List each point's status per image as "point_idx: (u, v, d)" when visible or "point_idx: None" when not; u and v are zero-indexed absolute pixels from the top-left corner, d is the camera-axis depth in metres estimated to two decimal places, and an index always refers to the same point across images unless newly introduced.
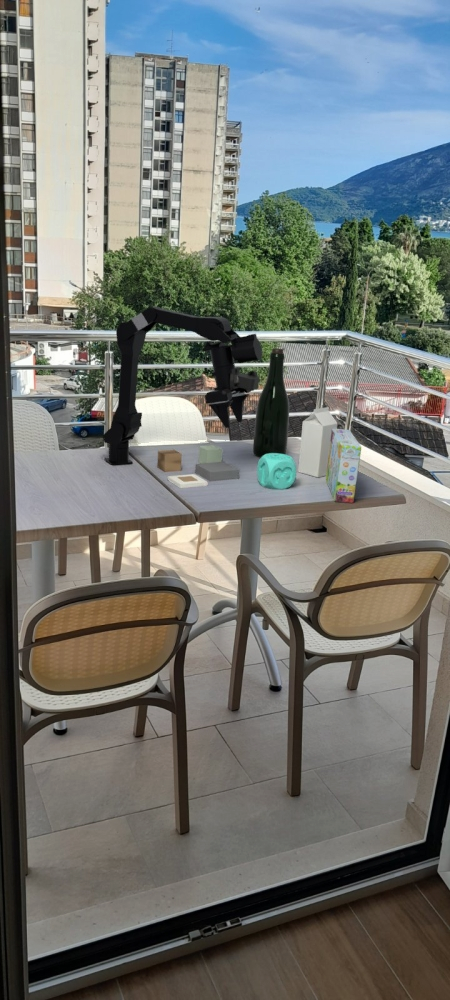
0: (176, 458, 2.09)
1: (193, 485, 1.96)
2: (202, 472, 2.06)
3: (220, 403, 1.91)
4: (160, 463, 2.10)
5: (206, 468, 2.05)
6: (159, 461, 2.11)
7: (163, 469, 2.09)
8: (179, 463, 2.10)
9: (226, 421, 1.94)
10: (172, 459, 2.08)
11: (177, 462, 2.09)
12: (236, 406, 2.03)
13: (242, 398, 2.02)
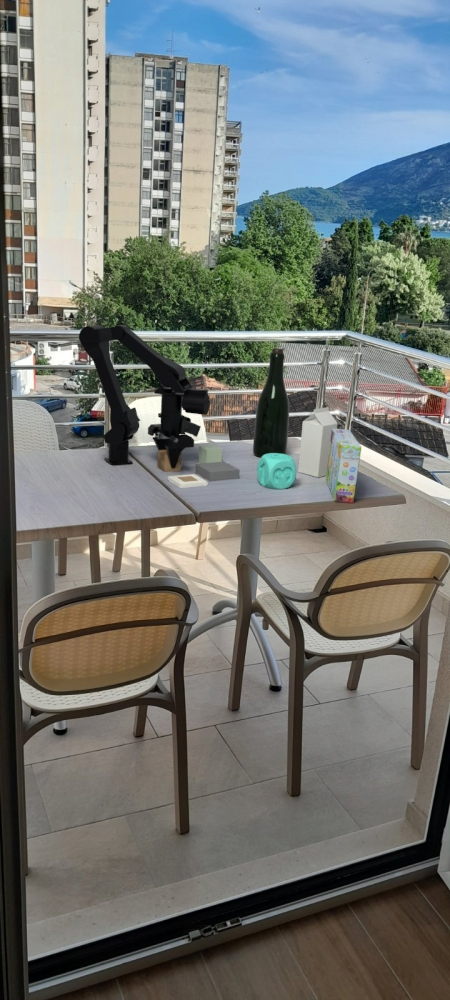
0: None
1: (193, 485, 1.96)
2: (202, 472, 2.06)
3: None
4: (160, 463, 2.10)
5: (206, 468, 2.05)
6: (159, 461, 2.11)
7: (163, 469, 2.09)
8: (179, 463, 2.10)
9: (175, 462, 2.08)
10: None
11: (177, 462, 2.09)
12: (164, 448, 2.12)
13: None
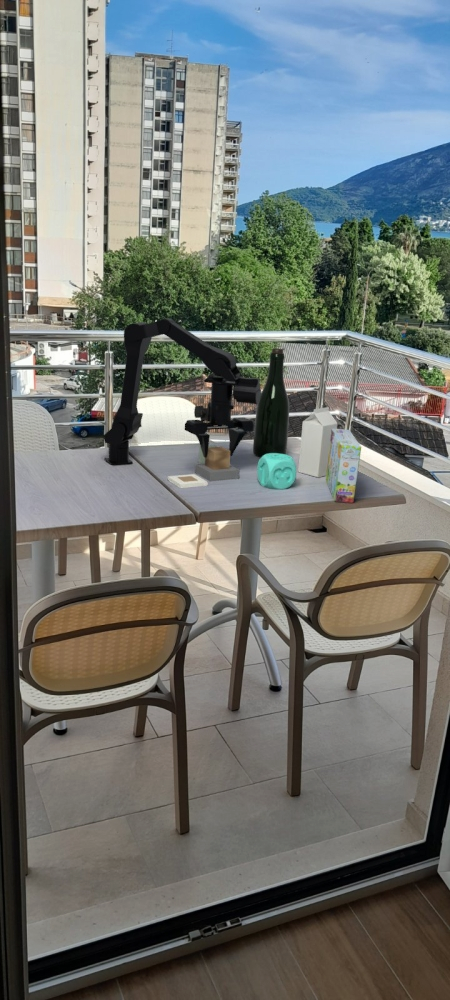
0: None
1: (193, 485, 1.96)
2: (202, 473, 2.06)
3: None
4: (220, 462, 2.05)
5: (206, 468, 2.05)
6: (217, 461, 2.04)
7: (226, 466, 2.06)
8: None
9: None
10: None
11: None
12: None
13: None
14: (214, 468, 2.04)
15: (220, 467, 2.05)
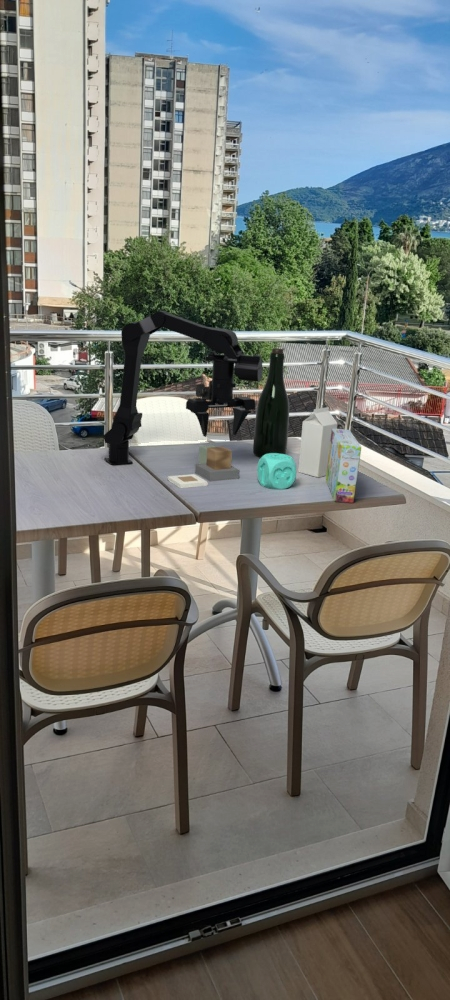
0: None
1: (193, 485, 1.96)
2: (202, 473, 2.06)
3: None
4: (221, 462, 2.05)
5: (206, 468, 2.05)
6: (219, 461, 2.04)
7: (228, 466, 2.06)
8: None
9: None
10: None
11: None
12: None
13: None
14: (215, 468, 2.04)
15: (221, 467, 2.05)
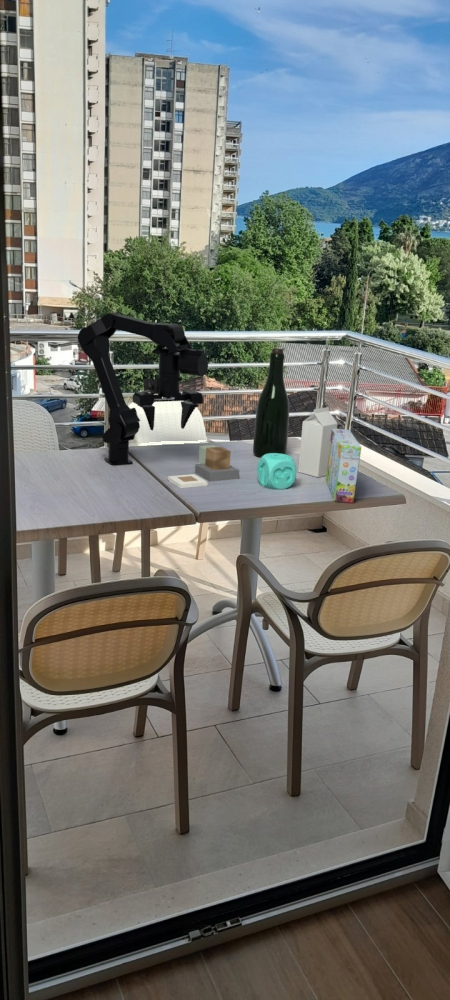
0: None
1: (193, 485, 1.96)
2: (201, 473, 2.06)
3: None
4: (220, 462, 2.05)
5: (206, 468, 2.05)
6: (218, 461, 2.04)
7: (227, 466, 2.06)
8: None
9: None
10: None
11: None
12: None
13: None
14: (214, 468, 2.04)
15: (220, 467, 2.05)
